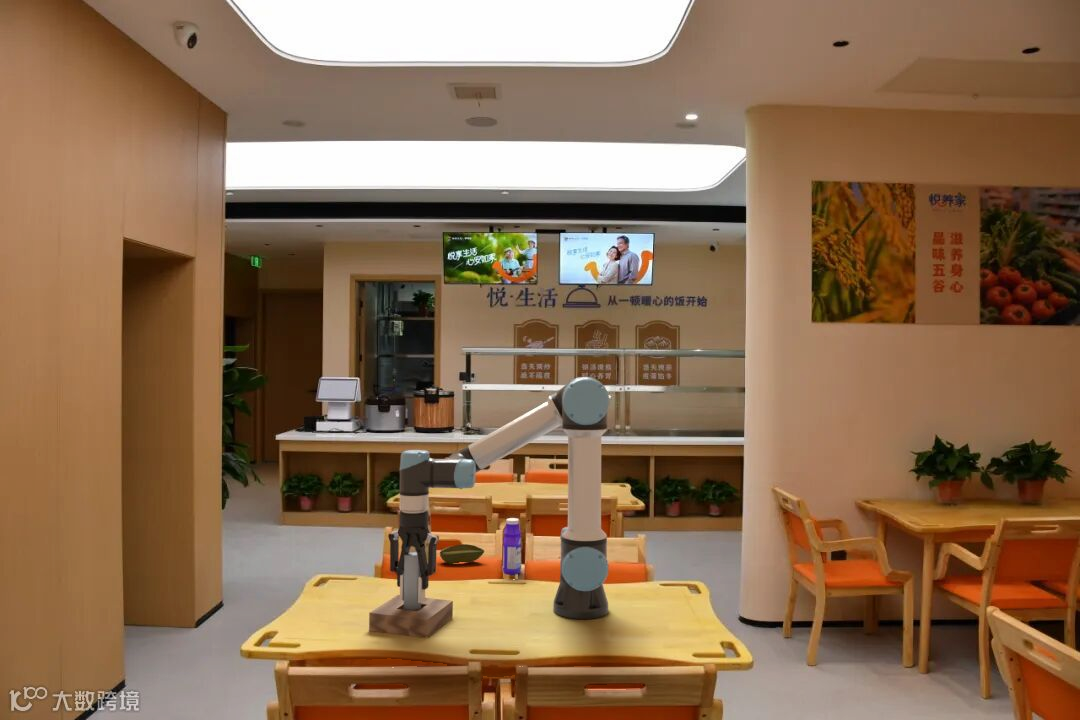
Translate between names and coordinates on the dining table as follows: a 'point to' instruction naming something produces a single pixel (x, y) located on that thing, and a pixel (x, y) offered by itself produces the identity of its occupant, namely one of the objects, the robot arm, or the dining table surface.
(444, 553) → the fruit
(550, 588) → the dining table surface
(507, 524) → the bottle
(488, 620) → the dining table surface
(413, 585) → the peg
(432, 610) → the socket block
